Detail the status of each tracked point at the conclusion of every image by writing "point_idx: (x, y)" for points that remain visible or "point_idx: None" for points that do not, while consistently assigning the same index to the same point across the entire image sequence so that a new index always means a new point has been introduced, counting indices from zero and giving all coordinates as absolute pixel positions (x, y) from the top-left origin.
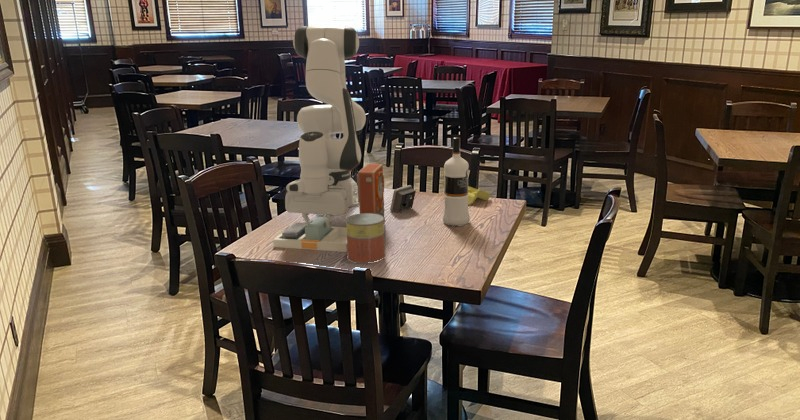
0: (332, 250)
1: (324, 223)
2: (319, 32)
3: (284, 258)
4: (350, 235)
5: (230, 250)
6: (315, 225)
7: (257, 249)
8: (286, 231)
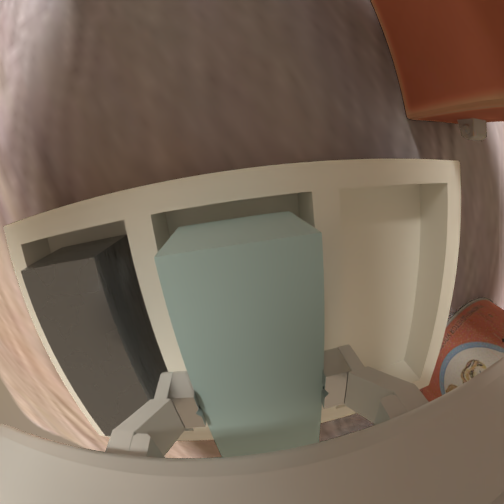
0: None
1: (332, 401)
2: None
3: (215, 457)
4: None
5: (35, 421)
6: (277, 438)
7: (76, 417)
8: (103, 420)
